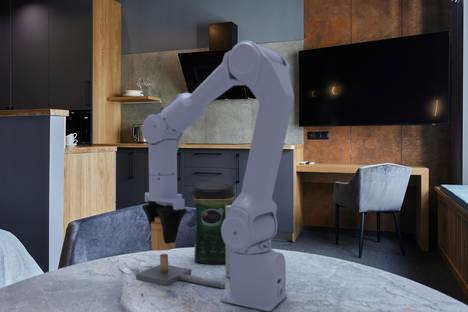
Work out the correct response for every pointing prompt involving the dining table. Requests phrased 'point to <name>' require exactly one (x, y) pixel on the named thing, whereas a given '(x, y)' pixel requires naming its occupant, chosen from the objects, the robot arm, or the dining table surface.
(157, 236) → the wire nut
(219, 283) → the gray square paddle
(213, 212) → the coffee jar
